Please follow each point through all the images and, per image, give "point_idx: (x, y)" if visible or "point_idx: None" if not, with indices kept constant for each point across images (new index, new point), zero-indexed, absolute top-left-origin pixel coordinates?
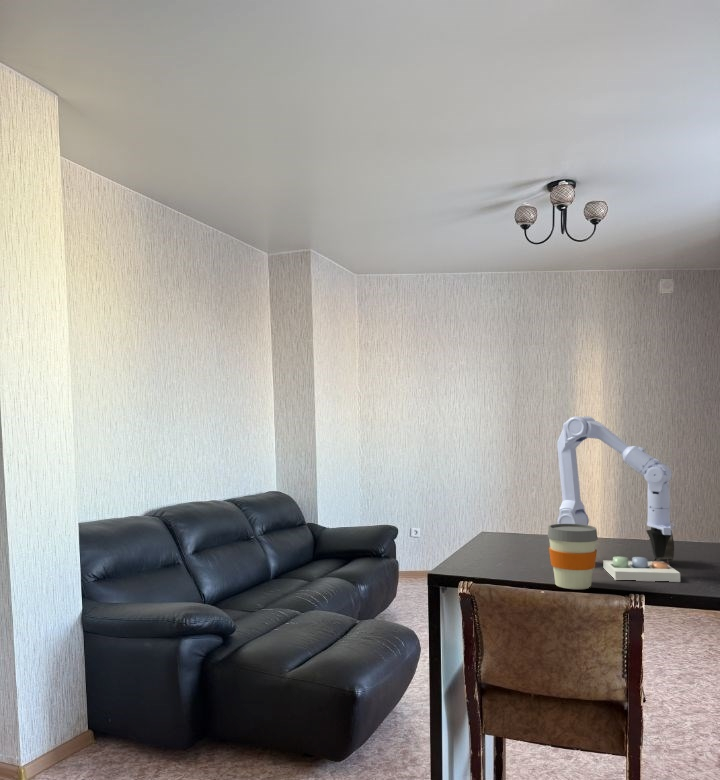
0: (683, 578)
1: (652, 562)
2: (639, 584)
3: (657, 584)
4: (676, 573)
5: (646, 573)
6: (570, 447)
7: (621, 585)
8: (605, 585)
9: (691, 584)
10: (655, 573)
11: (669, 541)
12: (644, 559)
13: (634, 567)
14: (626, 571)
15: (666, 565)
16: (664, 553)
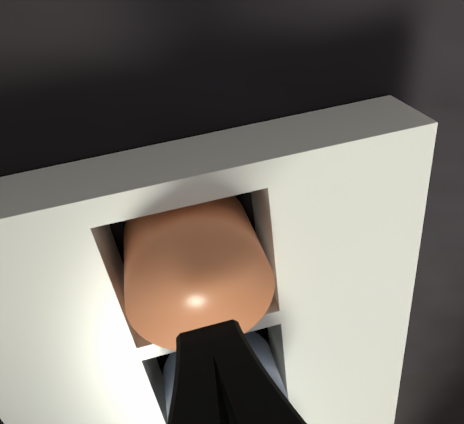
0: (239, 43)
1: None
2: (441, 318)
3: (446, 242)
4: (430, 152)
5: (401, 332)
6: None
7: (455, 374)
8: (451, 416)
9: (461, 8)
10: (409, 289)
11: None
12: None
13: None
14: (389, 417)
15: (248, 240)
16: (251, 349)
